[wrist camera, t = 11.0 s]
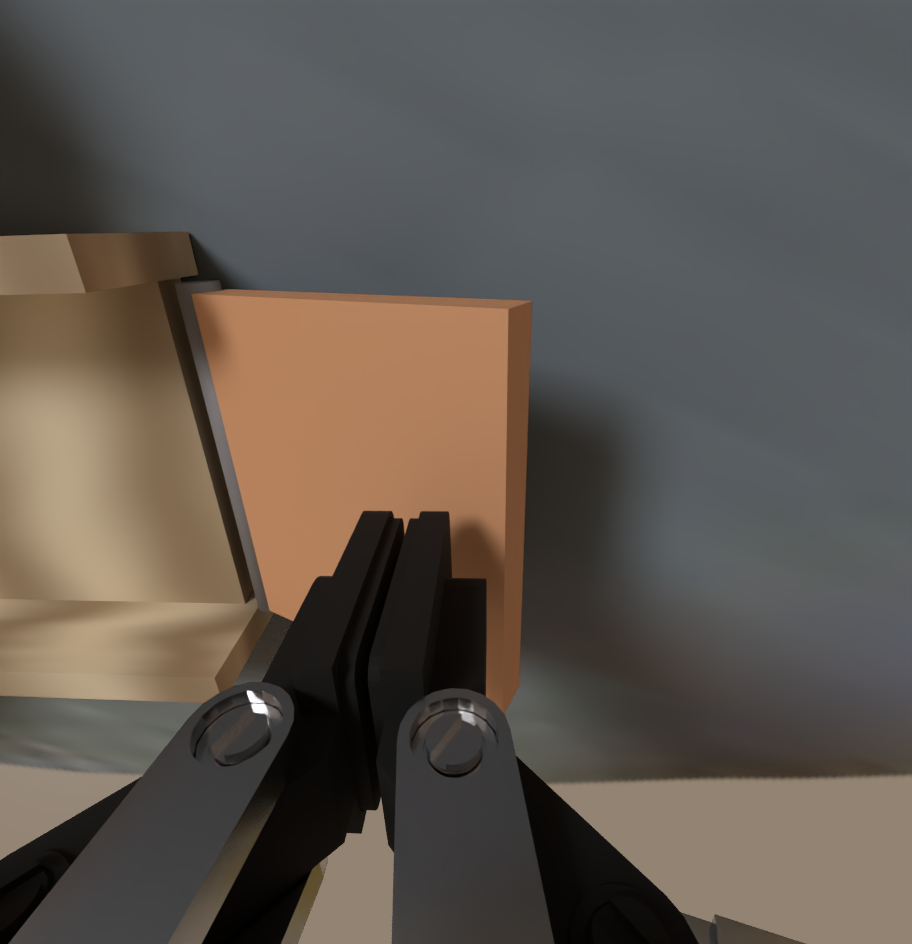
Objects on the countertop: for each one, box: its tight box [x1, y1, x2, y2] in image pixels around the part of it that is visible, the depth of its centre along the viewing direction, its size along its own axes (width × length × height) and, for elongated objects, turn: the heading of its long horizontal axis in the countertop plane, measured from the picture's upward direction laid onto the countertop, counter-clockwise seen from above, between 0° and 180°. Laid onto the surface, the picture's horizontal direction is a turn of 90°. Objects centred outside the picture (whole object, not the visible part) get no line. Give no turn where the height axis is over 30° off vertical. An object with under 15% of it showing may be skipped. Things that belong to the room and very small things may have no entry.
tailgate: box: [175, 280, 532, 713], centre depth 12 cm, size 1×10×9 cm
